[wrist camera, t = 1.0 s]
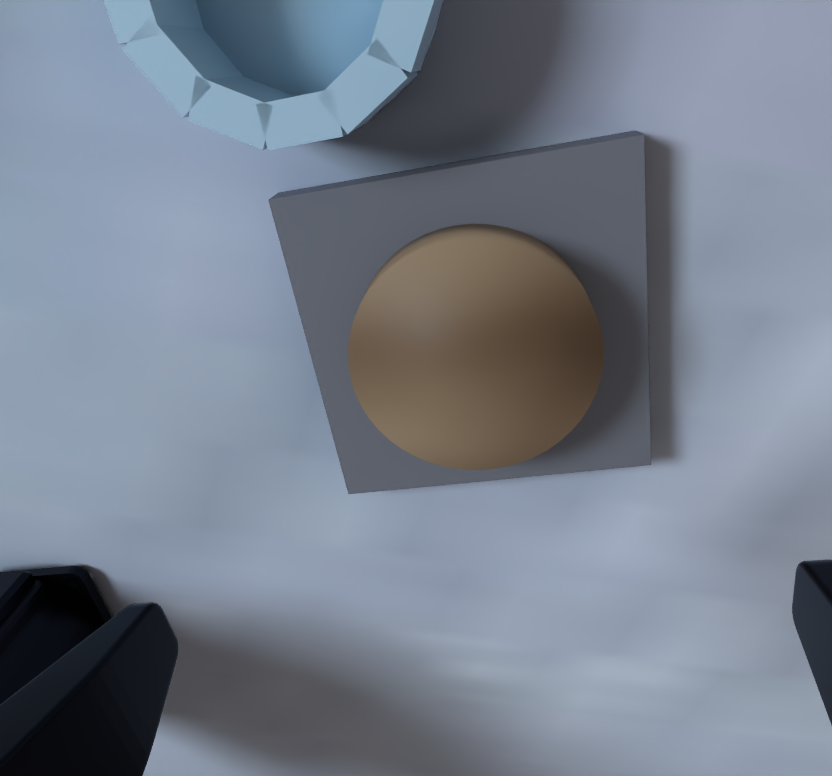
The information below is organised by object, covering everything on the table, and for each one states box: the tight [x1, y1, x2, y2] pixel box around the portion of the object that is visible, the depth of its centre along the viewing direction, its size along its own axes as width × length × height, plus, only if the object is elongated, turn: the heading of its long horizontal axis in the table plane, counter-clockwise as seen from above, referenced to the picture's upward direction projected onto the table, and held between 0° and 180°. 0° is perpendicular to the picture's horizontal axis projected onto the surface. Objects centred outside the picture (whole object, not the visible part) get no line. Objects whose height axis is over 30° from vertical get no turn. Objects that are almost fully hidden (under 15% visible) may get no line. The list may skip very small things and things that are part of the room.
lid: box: [348, 224, 604, 470], centre depth 19 cm, size 7×7×2 cm
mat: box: [269, 131, 651, 494], centre depth 20 cm, size 10×10×1 cm
